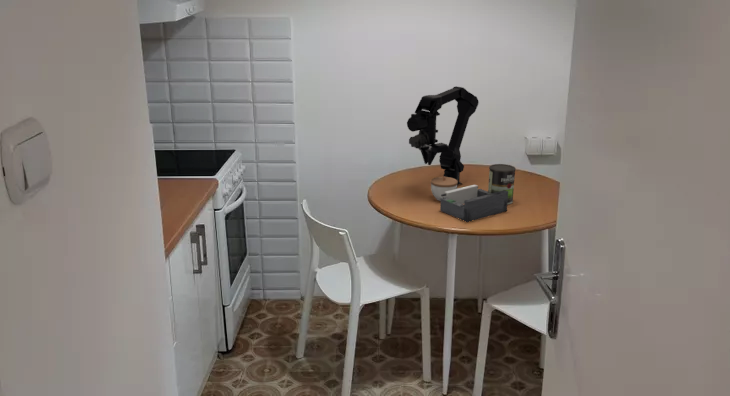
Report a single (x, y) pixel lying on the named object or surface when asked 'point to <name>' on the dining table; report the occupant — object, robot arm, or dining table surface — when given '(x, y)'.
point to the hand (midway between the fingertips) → (427, 164)
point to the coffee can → (502, 179)
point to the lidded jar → (442, 186)
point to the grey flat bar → (462, 193)
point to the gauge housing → (476, 205)
